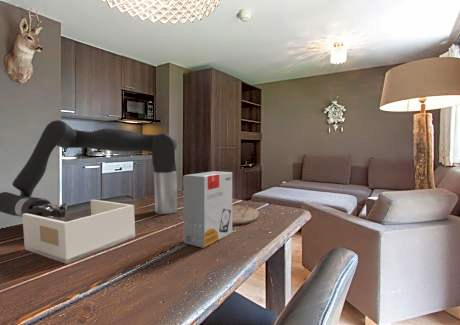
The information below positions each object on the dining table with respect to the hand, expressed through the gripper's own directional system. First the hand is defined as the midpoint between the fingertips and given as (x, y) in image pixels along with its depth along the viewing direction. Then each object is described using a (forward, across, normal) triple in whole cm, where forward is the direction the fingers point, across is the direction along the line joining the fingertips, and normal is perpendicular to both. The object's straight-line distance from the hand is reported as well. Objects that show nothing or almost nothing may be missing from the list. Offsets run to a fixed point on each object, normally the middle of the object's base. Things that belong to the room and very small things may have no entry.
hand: (62, 214), depth 82 cm
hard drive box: (+42, +20, +8) cm, 47 cm away
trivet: (+35, +43, +8) cm, 56 cm away
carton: (+10, 0, +8) cm, 12 cm away
